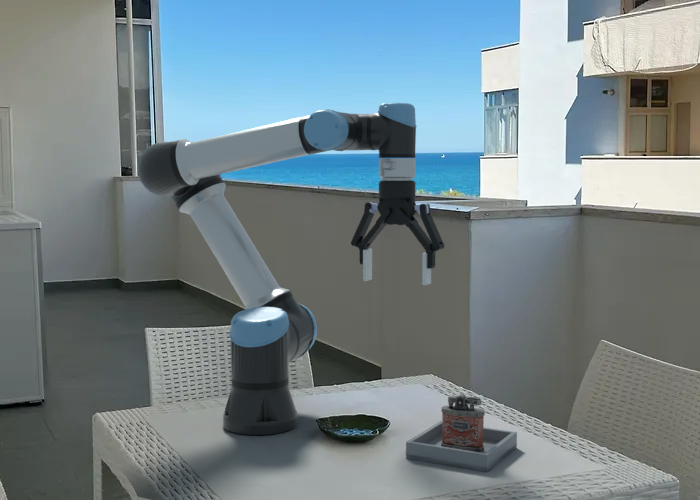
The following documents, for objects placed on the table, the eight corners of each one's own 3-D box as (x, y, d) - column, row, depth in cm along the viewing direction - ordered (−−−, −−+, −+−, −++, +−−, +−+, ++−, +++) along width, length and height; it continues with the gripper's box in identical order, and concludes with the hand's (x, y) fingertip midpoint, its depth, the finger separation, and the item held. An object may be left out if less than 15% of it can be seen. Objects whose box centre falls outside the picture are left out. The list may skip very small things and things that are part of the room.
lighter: (438, 448, 172) (439, 395, 171) (444, 443, 175) (444, 391, 174) (481, 453, 169) (482, 399, 168) (486, 448, 172) (486, 395, 171)
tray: (406, 458, 169) (406, 442, 168) (440, 435, 182) (440, 421, 182) (487, 472, 161) (487, 455, 161) (516, 447, 175) (516, 432, 175)
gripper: (335, 179, 193) (335, 280, 195) (446, 180, 181) (445, 288, 183) (352, 178, 199) (352, 276, 201) (460, 179, 187) (459, 283, 189)
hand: (396, 282), depth 192 cm, fingers open, 13 cm apart
